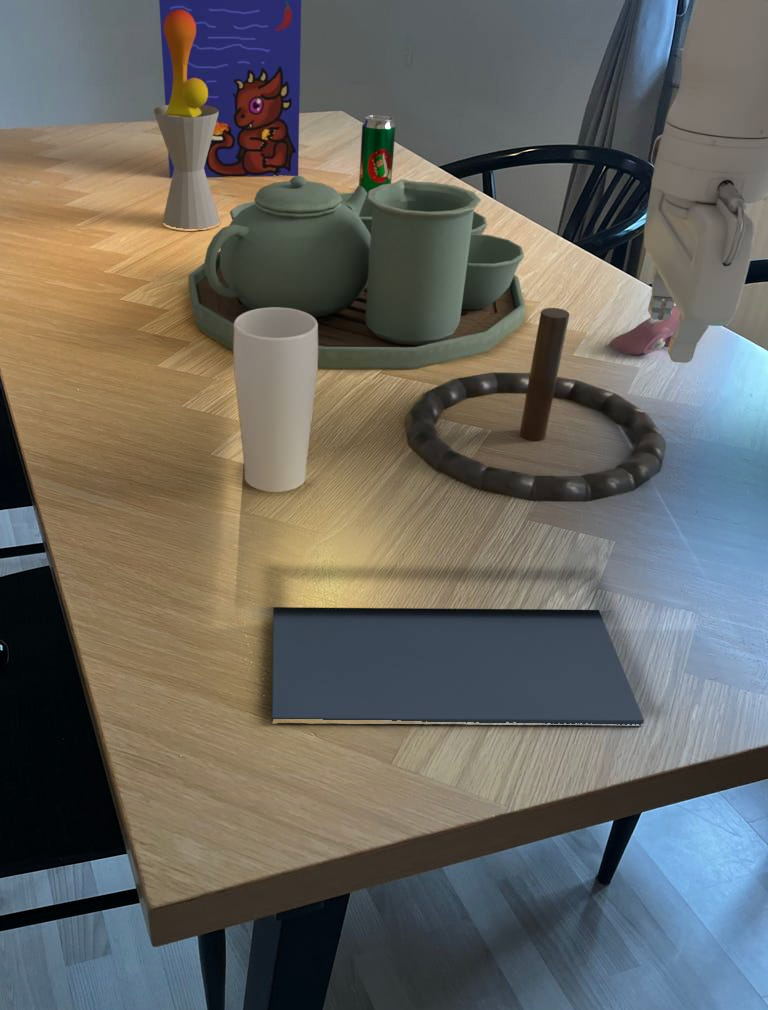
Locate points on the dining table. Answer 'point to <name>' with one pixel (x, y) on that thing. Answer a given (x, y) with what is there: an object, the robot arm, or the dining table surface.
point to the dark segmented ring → (527, 486)
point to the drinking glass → (275, 394)
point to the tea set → (365, 272)
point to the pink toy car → (648, 335)
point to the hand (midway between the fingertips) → (667, 337)
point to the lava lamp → (187, 133)
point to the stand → (543, 373)
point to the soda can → (376, 151)
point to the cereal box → (245, 81)
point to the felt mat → (448, 666)
